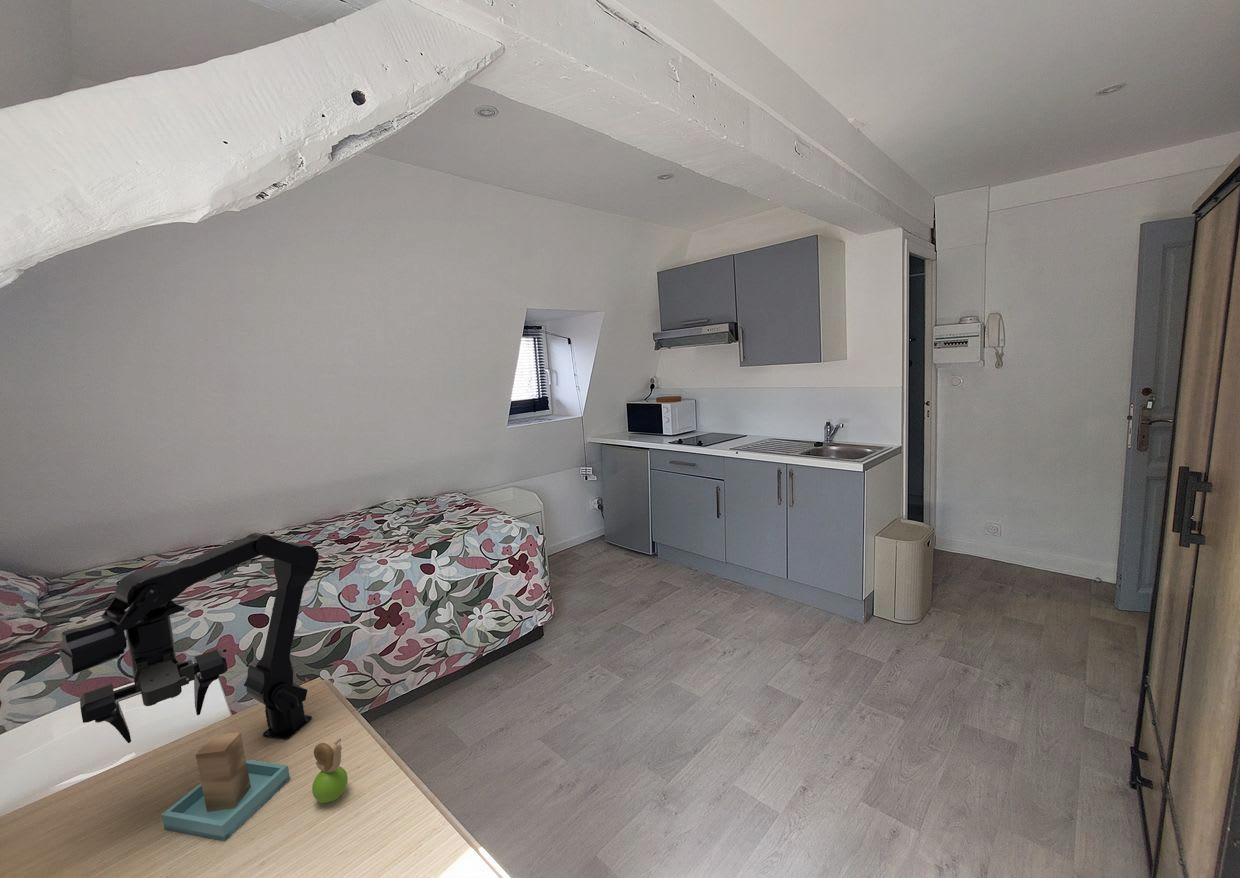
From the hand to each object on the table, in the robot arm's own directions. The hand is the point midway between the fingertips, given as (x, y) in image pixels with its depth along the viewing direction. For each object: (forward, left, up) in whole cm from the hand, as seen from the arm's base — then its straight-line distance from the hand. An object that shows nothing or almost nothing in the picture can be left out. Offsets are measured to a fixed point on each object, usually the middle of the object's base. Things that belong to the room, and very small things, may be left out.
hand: (165, 727), depth 91 cm
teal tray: (-12, 0, -13) cm, 18 cm away
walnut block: (-12, 0, -13) cm, 17 cm away
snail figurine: (-30, -4, -14) cm, 33 cm away
